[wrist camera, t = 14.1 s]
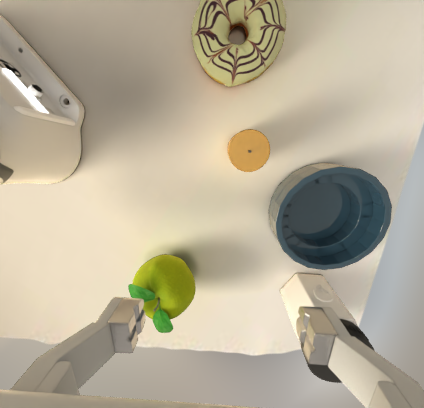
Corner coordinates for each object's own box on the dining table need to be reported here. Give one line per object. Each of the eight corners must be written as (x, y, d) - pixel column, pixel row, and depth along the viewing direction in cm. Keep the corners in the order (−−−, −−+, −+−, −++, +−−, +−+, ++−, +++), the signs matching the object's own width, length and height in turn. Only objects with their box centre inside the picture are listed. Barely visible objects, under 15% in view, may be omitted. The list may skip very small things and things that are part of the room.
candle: (222, 142, 29) (221, 142, 22) (251, 126, 29) (261, 120, 21) (235, 169, 31) (239, 180, 23) (264, 155, 30) (278, 160, 22)
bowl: (253, 190, 31) (258, 199, 26) (347, 144, 29) (373, 145, 24) (288, 263, 35) (299, 283, 30) (376, 228, 32) (403, 244, 27)
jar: (335, 274, 35) (389, 339, 23) (325, 311, 37) (369, 386, 26) (282, 270, 35) (311, 332, 24) (276, 307, 38) (299, 379, 26)
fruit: (165, 294, 38) (145, 345, 29) (138, 256, 36) (107, 297, 27) (207, 277, 37) (201, 325, 27) (181, 235, 34) (165, 272, 25)
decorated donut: (178, 42, 26) (171, 26, 23) (241, -35, 23) (244, -67, 20) (231, 106, 28) (232, 100, 24) (296, 41, 25) (307, 24, 22)
